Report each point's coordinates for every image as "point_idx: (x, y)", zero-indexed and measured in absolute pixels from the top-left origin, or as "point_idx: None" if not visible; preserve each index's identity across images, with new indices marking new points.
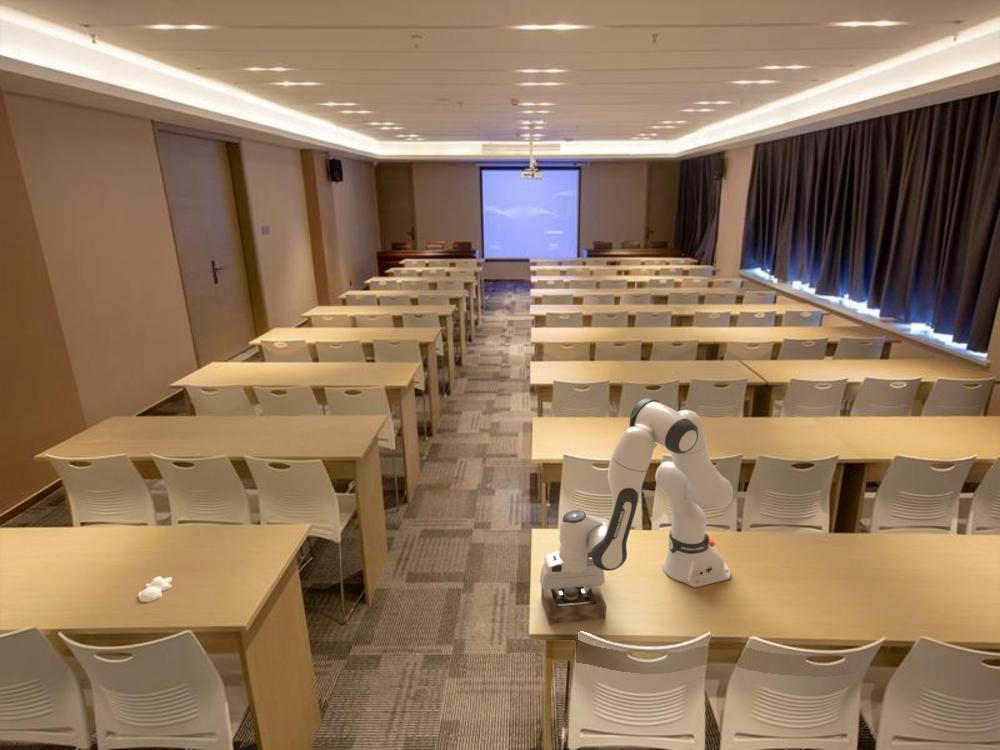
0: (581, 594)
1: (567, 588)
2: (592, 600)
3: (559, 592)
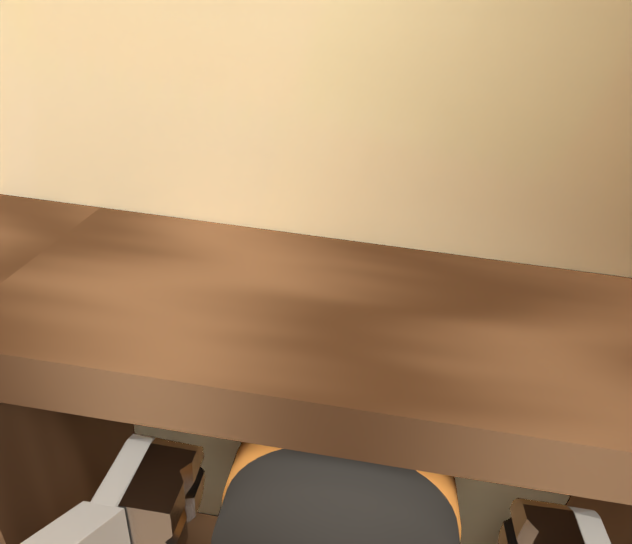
0: (513, 523)
1: (294, 509)
2: (621, 533)
3: (130, 527)
